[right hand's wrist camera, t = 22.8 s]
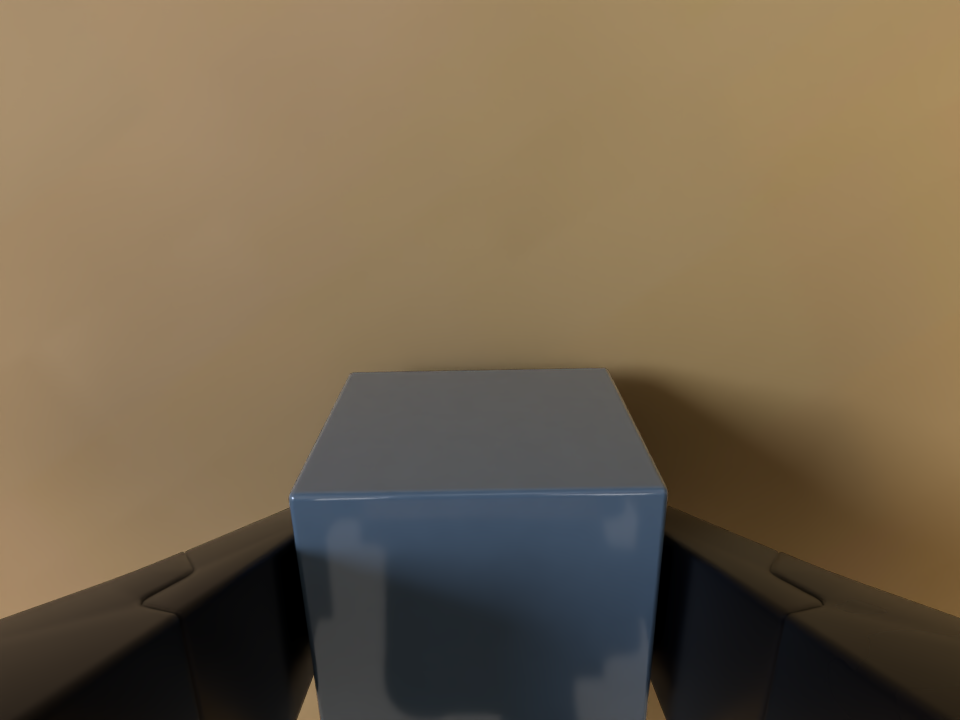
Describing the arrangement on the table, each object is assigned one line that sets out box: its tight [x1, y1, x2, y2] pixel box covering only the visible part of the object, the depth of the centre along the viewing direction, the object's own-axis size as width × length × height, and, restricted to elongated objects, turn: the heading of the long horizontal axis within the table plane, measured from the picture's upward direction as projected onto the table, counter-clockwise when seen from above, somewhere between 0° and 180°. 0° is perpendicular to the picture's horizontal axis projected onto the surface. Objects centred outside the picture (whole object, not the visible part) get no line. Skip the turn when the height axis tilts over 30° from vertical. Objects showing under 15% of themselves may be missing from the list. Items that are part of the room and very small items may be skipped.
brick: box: [289, 368, 669, 720], centre depth 10 cm, size 5×4×4 cm
